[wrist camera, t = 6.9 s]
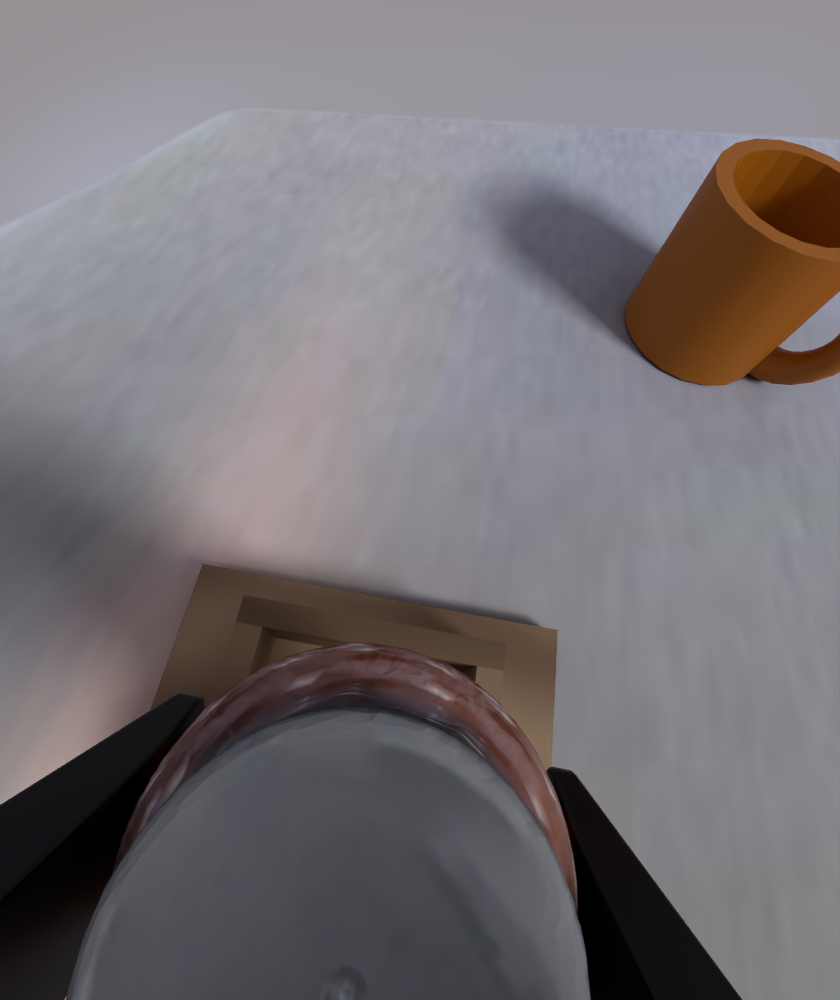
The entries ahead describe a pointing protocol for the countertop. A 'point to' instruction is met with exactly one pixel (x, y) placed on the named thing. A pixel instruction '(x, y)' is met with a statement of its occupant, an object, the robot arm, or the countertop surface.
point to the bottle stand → (354, 618)
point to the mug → (746, 270)
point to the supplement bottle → (343, 848)
